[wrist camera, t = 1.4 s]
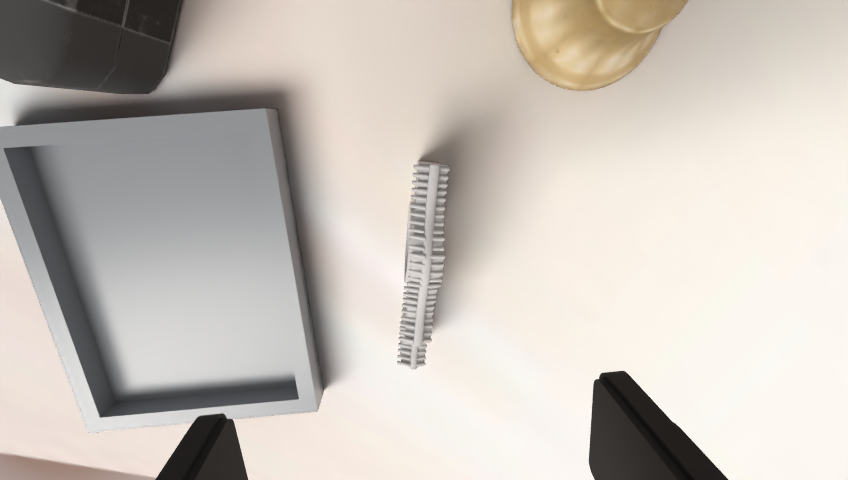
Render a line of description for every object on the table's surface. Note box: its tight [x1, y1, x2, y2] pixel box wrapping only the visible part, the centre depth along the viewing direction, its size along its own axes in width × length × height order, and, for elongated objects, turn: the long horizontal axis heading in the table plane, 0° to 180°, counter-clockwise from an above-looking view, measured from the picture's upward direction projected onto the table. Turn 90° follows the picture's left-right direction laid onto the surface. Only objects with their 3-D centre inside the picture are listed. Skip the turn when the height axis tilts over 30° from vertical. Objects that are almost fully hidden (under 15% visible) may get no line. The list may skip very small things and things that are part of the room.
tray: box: [0, 108, 324, 433], centre depth 23 cm, size 14×18×2 cm
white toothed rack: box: [397, 161, 450, 369], centre depth 22 cm, size 12×2×6 cm, turn 175°
